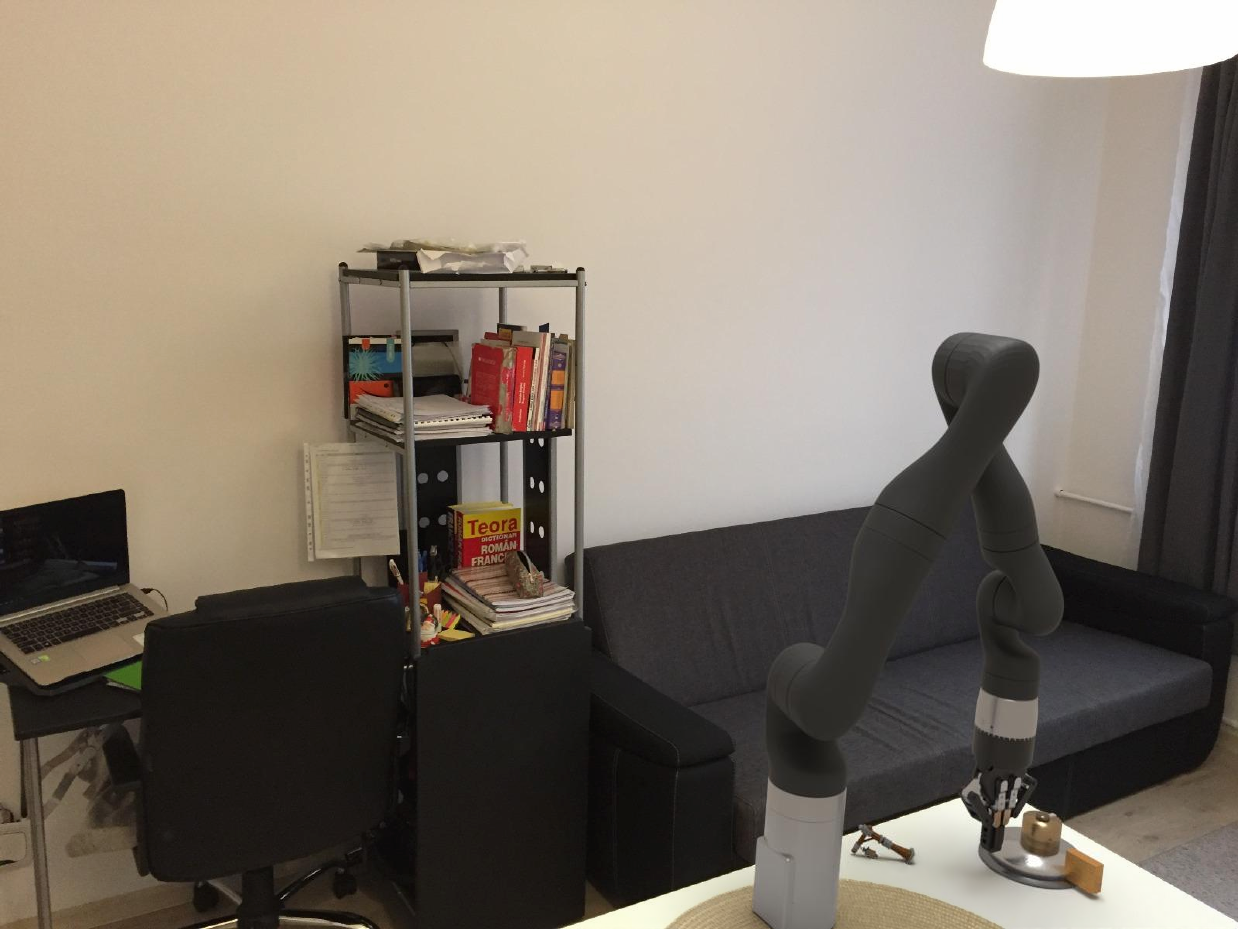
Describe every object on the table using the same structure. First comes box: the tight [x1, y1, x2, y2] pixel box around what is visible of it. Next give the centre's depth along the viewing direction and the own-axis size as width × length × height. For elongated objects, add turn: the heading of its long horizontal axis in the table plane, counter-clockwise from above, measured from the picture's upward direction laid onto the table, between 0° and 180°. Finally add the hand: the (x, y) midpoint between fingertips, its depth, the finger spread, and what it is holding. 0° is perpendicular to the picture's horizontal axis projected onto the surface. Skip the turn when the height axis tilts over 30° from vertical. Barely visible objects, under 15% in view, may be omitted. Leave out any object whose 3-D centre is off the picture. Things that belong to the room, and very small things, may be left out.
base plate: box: [977, 843, 1078, 890], centre depth 142 cm, size 14×14×1 cm
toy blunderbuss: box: [851, 823, 916, 865], centre depth 141 cm, size 2×8×4 cm, turn 81°
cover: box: [1020, 809, 1063, 856], centre depth 142 cm, size 5×5×5 cm
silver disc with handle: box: [987, 826, 1105, 895], centre depth 140 cm, size 16×12×4 cm
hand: (990, 849), depth 138 cm, fingers closed
